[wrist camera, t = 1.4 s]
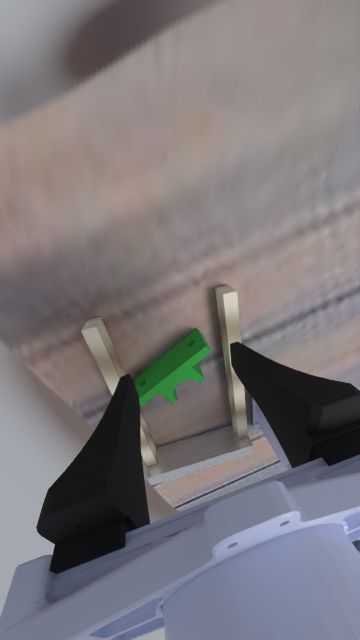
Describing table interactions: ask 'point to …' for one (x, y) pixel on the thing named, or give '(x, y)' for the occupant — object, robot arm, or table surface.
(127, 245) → the table surface
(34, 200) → the table surface
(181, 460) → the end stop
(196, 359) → the pipe clamp
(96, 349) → the guide rails
